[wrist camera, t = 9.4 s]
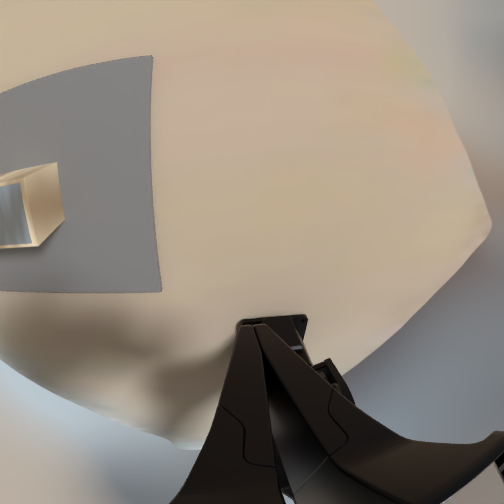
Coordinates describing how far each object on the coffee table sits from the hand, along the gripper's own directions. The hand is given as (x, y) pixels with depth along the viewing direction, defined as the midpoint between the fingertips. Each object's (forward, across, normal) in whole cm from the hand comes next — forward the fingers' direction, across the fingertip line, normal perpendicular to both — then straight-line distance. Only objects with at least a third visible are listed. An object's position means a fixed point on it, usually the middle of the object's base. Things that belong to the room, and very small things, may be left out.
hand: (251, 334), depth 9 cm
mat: (+13, +15, -2) cm, 20 cm away
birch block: (+10, +12, -2) cm, 16 cm away
